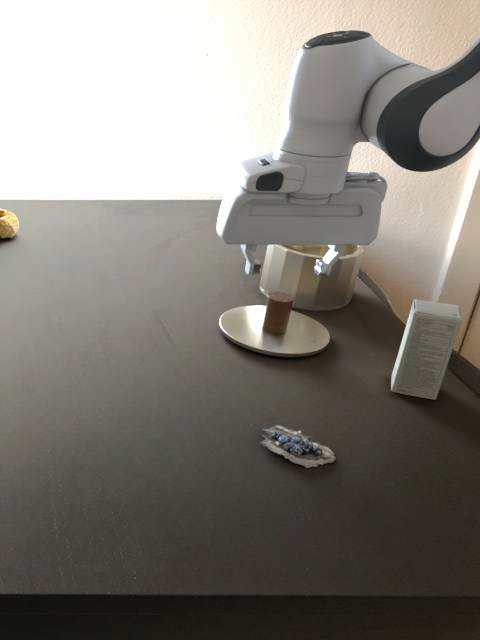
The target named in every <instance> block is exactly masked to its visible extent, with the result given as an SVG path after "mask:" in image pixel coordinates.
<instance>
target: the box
mask: <svg viewBox="0 0 480 640" xmlns="http://www.w3.org/2000/svg"><path fill="white" fill-rule="evenodd" d="M462 323H463V316H462V312H461V308H460V306H459V305H458V304H450V303H445V302H444V303H443V302H435V301H431V300H423V299H417V298H416V299H413V301H412V304H411V308H410V311H409V315H408V317H407V322H406V325H405V328H404V332H403V336H402V339H401V343H400V345H399V350H398V353H397V356H396V360H395V363H394V366H393V370H392V373H391V377H390V378H391V379H390V391H391V393H395V394H401V395H406V396H411V397H417V398H420V399H428V400H434V401H436V400H437V398H438V395H439V392H440V389H441V386H442V384H443V380H444V376H445V373H446V370H447V368H448V364H449V361H450V358H451V355H452V352H453V349H454V346H455V343H456V340H457V337H458V335H459V331H460V328H461V325H462Z"/></svg>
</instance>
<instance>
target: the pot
mask: <svg viewBox="0 0 480 640" xmlns="http://www.w3.org/2000/svg"><path fill="white" fill-rule="evenodd" d="M329 250H330V248H329V247H328V245H266V251H265V256H264V260H263V264H262V265H263V266H262V271H261V276H260V280H259V290H260V292H261V293H262V294H263V295H264V296H265V297H266V298H267V296H268V294H269V293H271V292H283V293H287V294H289V295H291V296H292V297H293V298H294V300H293V304H292V308H293V309H297V310H298V309H299V310H304V311H314V312H331V311H336V310H340V309H343V308H345V307H347V306H348V305H350V302H351V300H352V297H353V295H354V291H355V286H356V283H357V279H358V276H359V272H360V268H361V265H362V261H363V258H364V254H365V245H346V247H345V251H344V253H343V254H342V255H341V257H340V258H339V259H338V260H337V261H336V262H335V263H334V264H332V268H331V272H330V275H329V276H321V275H317V274H316V273H315V271H314V269H315V266H316V260H317V259H323V258H324V257H325V255H326V254H327V253H328V251H329Z"/></svg>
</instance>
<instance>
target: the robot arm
mask: <svg viewBox="0 0 480 640" xmlns="http://www.w3.org/2000/svg"><path fill="white" fill-rule="evenodd" d="M282 113H283V125H282V129H281V133H280V134H279V136H278V138H277V141H276V145H275V150H274V151H270V152H267V153H266V154H263V155H259V156H256V157H253V158H252V157H251V158H249V159H246V160H242V161H239V162H237V163H235V164H234V167H233V172H232V176H233V179H234V180H235V182H233V183H231V184H230V186H228V187H227V189H226V191H225V192H224V195H223V197H222V201H221V204H220V208H219V211H218V216H217V221H216V228H215V229H216V230H215V231H216V233H217V236H218V237H219V238H220V239H221V240H222V242H223V243H224V244H226V245H233V246H235V245H240V249H241V251H242V252H243V256H244V257H245V260H246V261H245V267H244V271H245V274H246V275H247V276H260V273H261V269H262V263H261V261H260V260H259V259H258V258H254V256H253V253H255V252H256V251H257V246H258V245H260V246H262V245H263V246H268V245H328V247H329V248H330V250H329V251H328V253H327V254H326V255H325V257H324V258H323V259H317V260H316V266H315V269H314V271H315V273H316V274H317V275H321V276H329V275H330V272H331V268H332V264H334V263H335V262H336V261H337V260H338V259H339V258H340V257H341V255H342V254H343V253H344V251H345V247H346V245H363V246H369V245H371V244H372V243H373V242H374V241H375V240H376V239H377V237H378V235H379V234H378V233H379V228H380V223H381V217H382V216H381V215H382V203H383V202H384V200H385V199H386V195H387V190H388V182H387V180H386V178H385V177H383V176H382V175H380V173H378V172H375V171H368V172H358V171H348V170H349V166H350V163H351V159H352V158H351V157H352V152H353V150H354V147H355V146H356V145H357V144H358V143H370V144H372V145H373V146H374V147H375V148H378V149H379V150H381V151H382V152H384V153H385V155H386V156H387V157H388V158H389V159H391V161H393V163H395V164H396V165H397V166H399V167H400V168H402V169H404V170H407V171H411V172H416V173H428V172H434V171H438V170H442V169H445V168H447V167H449V166H451V165H453V164H455V163H457V162H458V161H460V160H461V159H462V158H463V157H465V156H466V155H467V154H468V153H470V151H471V150H473V148H474V147H475V146H476V145H477V143H478V142H479V140H480V34H479V35H478V36H477V37H476V38H475V40H474V41H473V42H472V43H471V44H470V45H469V46H468V48H467V49H465V51H464V52H463V53H462V54H461V55H460V56H459V57H458V58H457V59H456V60H454V62H452V63H450V64H449V65H447V66H445V67H443V68H440V69H438V70H433V69H430V68H428V67H426V66H423V65H419V64H417V63H415V62H412V61H411V60H408V59H405V58H403V57H401V56H399V55H398V54H395V53H394V52H392V51H390V50H389V49H387V48H385V47H384V46H383V45H382V44H381V43H379V42H378V41H377V40H376V39H375V38H374V37H373V35H372V34H371V33H370V32H366V31H364V30H355V29H353V30H352V29H351V30H337V31H330V32H325V33H322V34H318V35H316V36H314V37H311V38H310V39H308V40H307V41H306V42H305V43H304V44H303V45H302V46H301V48H300V49H299V51H298V53H297V55H296V58H295V61H294V63H293V66H292V70H291V74H290V76H289V81H288V85H287V89H286V93H285V98H284V102H283V108H282Z"/></svg>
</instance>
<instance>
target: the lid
mask: <svg viewBox="0 0 480 640" xmlns="http://www.w3.org/2000/svg"><path fill="white" fill-rule="evenodd" d="M293 300H294V298H293V297H292V296H291V295H289V294H287V293H283V292H271V293H269V294H268V296H267V297H266V301H265V305H245V306H243V305H242V306H238V307H234V308H231V309H229V310H227V311H225V312H223V313H222V314H221V316H220V318H219V322H218V328H219V330H220V332H221V334H222V335H223V336H224V337H225V338H226V339H228V340H229V341H230V342H232V343H234V344H236V345H237V346H239V347H242V348H244V349H246V350H249V351H252V352H256V353H259V354H264V355H268V356H274V357H281V358H282V357H283V358H302V357H309V356H310V357H311V356H313V355H317V354H320V353H322V351H324V350H326V349H327V348H328V346H329V344H330V341H331V337H330V336H331V335H330V333H329V331H328V330H327V327H325V326H324V325H323V324H321V323H320V322H319V321H318V320H317V319H314V318H312V317H310V316H308V315H306V314H303V313H300V312H298V311H294V310H292V308H293V307H292V304H293Z"/></svg>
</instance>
